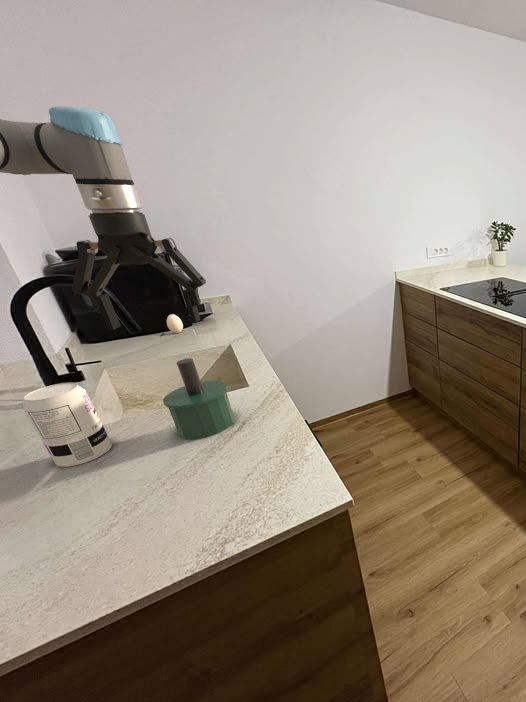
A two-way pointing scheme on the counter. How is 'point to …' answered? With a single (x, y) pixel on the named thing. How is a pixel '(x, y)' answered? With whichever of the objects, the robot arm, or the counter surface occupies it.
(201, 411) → the pot
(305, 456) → the counter surface
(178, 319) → the egg
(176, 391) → the lid
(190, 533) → the counter surface
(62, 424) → the supplement can
